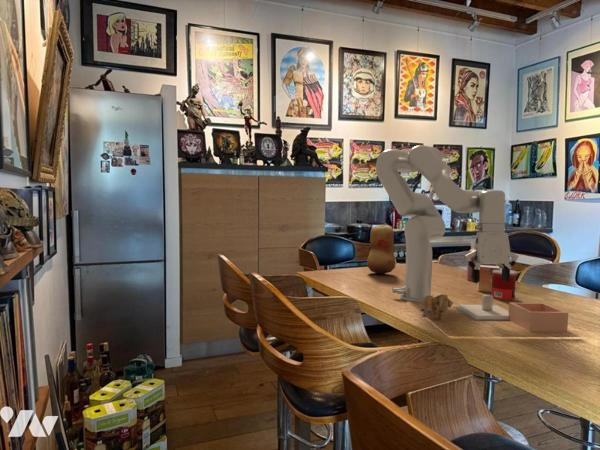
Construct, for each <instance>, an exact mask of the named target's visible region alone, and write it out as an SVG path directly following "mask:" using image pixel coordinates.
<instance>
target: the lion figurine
mask: <svg viewBox="0 0 600 450" xmlns="http://www.w3.org/2000/svg"><path fill="white" fill-rule="evenodd" d="M433 296H434V295H433ZM433 296H430V295H428V296H426V297H425V300H424V302H423V308H422V309H420V311H421V312H423V314H422V316H423V317H426V315H427V313H431V320H432V321H436V320H437V319H438V320H442V315H443V314H444V313H445V312H446V311H447V310H448V309H451V308H452V307H453V304H454V302H453V301H452V300H450V299H449V297H448V296H449V295H447V294H440V295H439V294H438V295H437V296H434V297H433ZM427 308H428V309H427ZM436 314H438V317H437V319H436Z"/></svg>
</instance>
